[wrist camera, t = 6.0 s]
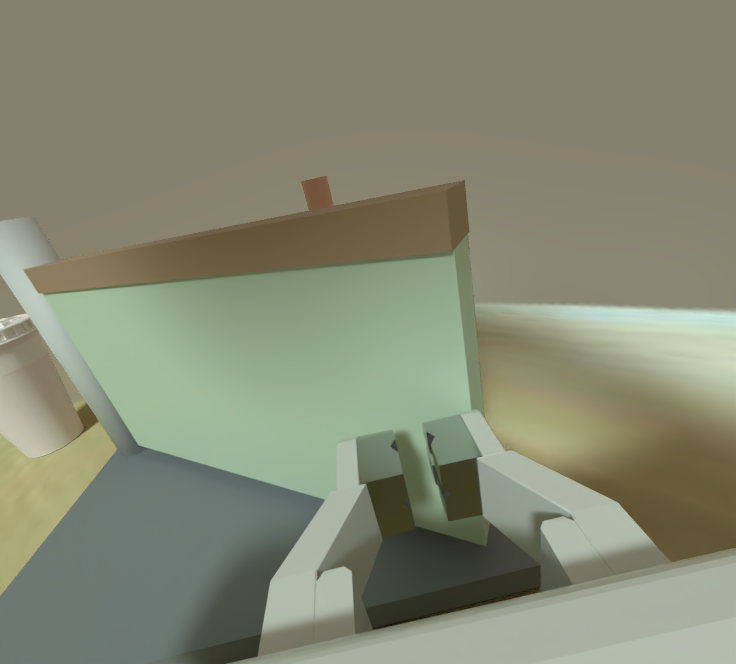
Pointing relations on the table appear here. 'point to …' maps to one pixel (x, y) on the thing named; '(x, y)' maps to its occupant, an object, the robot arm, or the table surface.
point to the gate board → (195, 539)
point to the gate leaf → (288, 339)
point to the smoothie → (32, 392)
